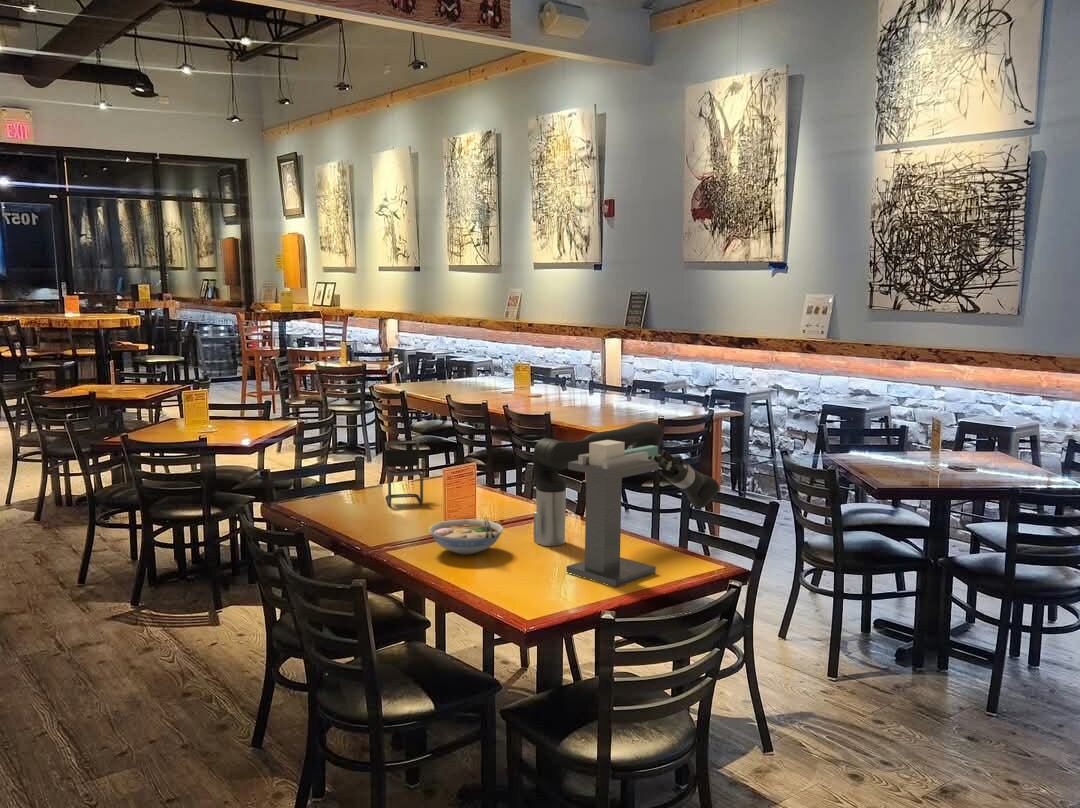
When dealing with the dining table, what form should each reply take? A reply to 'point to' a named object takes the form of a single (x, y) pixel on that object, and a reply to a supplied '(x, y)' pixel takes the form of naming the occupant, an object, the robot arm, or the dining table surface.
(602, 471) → the stand
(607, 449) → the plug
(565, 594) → the dining table surface
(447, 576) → the dining table surface
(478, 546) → the ramen bowl
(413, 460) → the chair
